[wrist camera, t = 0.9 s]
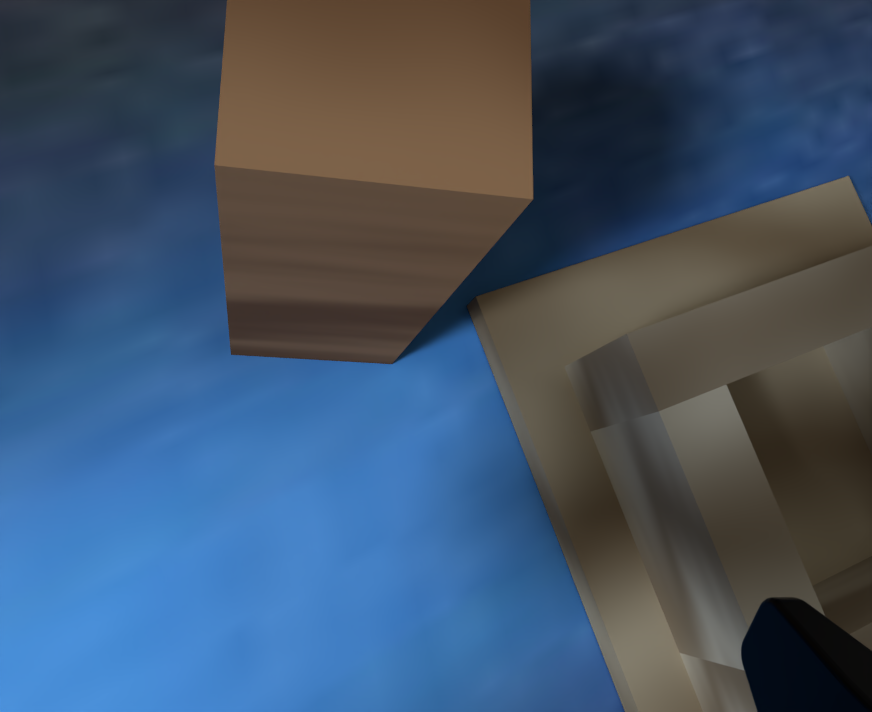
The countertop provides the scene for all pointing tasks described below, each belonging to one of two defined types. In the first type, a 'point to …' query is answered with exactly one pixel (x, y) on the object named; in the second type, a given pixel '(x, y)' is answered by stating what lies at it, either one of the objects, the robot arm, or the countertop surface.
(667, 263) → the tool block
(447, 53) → the wooden peg
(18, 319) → the countertop surface
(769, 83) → the countertop surface
